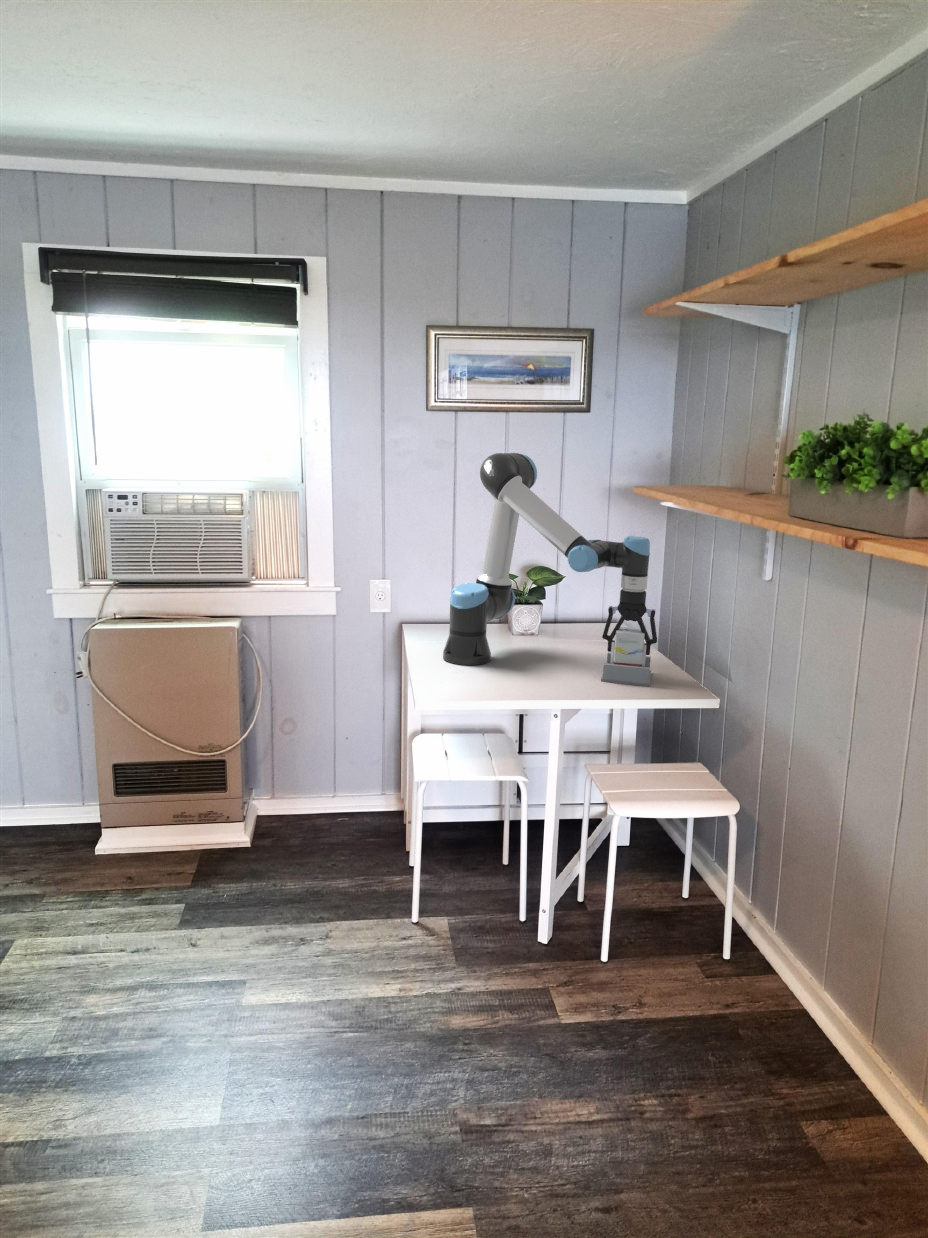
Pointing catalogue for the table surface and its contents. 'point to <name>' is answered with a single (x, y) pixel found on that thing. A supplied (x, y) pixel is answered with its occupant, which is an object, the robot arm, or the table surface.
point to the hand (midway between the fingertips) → (627, 663)
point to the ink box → (629, 647)
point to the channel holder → (627, 673)
